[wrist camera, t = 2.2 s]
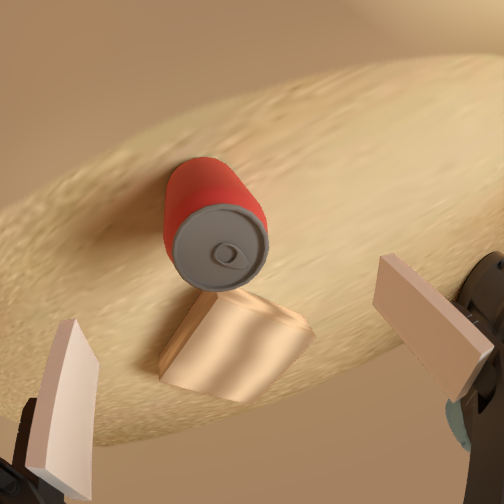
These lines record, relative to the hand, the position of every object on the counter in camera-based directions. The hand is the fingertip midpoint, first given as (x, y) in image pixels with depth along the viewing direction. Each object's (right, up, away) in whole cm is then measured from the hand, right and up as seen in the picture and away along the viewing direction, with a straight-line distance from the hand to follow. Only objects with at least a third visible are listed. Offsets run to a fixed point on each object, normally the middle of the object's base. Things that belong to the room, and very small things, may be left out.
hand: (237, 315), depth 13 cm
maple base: (-2, -8, +24) cm, 25 cm away
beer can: (-4, +8, +16) cm, 18 cm away
